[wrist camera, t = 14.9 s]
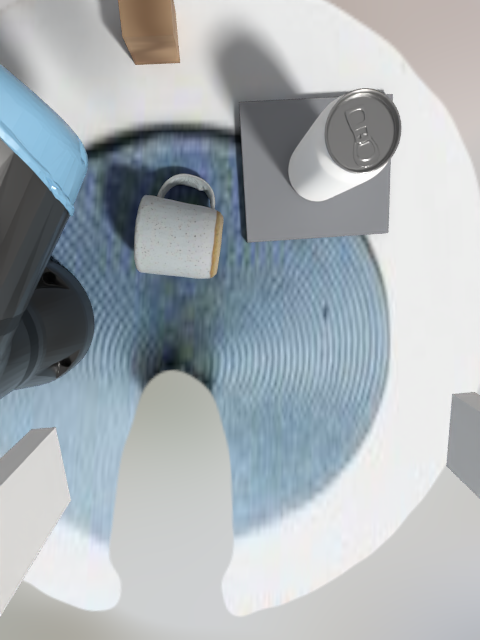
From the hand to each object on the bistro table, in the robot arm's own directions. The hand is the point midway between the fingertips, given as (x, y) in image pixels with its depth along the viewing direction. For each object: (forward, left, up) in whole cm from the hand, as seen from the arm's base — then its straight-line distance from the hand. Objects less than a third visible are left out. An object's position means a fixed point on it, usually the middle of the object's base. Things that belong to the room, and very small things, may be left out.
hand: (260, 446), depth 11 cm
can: (+10, +14, -28) cm, 33 cm away
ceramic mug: (-5, +9, -29) cm, 31 cm away
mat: (+10, +14, -29) cm, 33 cm away
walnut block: (-6, +28, -29) cm, 40 cm away
